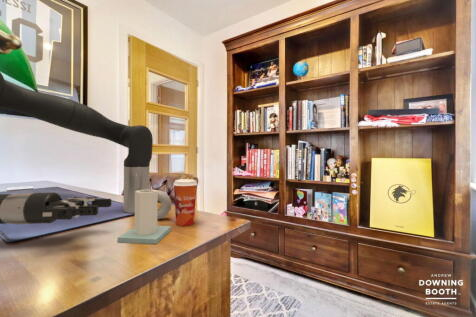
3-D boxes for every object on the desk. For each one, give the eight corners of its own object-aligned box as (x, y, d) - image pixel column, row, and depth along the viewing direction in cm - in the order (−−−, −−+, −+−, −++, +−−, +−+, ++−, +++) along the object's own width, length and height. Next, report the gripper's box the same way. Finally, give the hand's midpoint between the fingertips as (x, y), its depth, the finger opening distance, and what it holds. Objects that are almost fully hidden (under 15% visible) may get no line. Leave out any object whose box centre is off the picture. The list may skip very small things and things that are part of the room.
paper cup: (172, 228, 66) (173, 181, 66) (172, 220, 74) (173, 179, 74) (198, 226, 69) (199, 181, 68) (196, 219, 76) (197, 178, 76)
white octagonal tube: (138, 228, 62) (138, 189, 62) (158, 227, 63) (158, 189, 63) (132, 235, 56) (133, 193, 56) (155, 234, 58) (155, 192, 57)
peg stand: (138, 229, 65) (138, 201, 65) (171, 230, 64) (171, 202, 64) (117, 242, 55) (117, 209, 55) (156, 244, 54) (156, 210, 54)
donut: (172, 217, 77) (172, 189, 77) (170, 220, 74) (170, 191, 74) (142, 218, 76) (142, 189, 76) (139, 221, 73) (139, 191, 72)
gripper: (9, 198, 47) (92, 197, 51) (51, 188, 61) (114, 188, 64) (9, 233, 47) (92, 229, 51) (51, 215, 61) (114, 213, 65)
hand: (104, 206), depth 58 cm, fingers open, 8 cm apart
